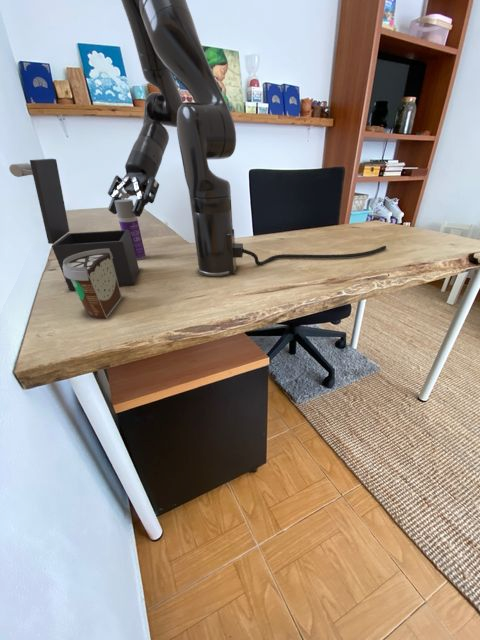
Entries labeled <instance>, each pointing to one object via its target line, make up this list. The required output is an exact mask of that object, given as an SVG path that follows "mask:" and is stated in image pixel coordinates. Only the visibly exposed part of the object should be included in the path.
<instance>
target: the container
mask: <svg viewBox="0 0 480 640" xmlns="http://www.w3.org/2000/svg"><path fill="white" fill-rule="evenodd" d="M133 201H134V200H133V199H131V198H127V199H126V198H125V199H122V200H115V201H114V202H115V206H116V210H117V214H116V215H117V218H118V223H119V226H120V230H129V231H130V235H131V239H132V243H133V247H134V251H135V255H136V259H137V261H140V260H145V259H146V258H147V255H146V251H145V246H144V243H143V239H142V234H141V230H140V229H141V228H140V225H139V221H138V217H137V216H136V215H134V214H133V213H132V210H133V207H134V205H135V204H134V202H133Z"/></svg>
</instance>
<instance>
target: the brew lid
mask: <svg viewBox="0 0 480 640" xmlns="http://www.w3.org/2000/svg"><path fill="white" fill-rule="evenodd" d="M29 162H30V163H28V162H24V163H15V164H13V163H12V164H10V165H9V168H8V169H9V172H10V173H11V175H12V176H14V177H16V178H20V177H27V176H32V177H33V181H34V185H35V186H34V187H35V190H36V194H37V200H38V203H39V209H40V213H41V216H42V223H43V225H44V230H45V231H44V232H45V235H46V240H47V243H48V244H49V245H54V244H55V243H56V242H58V241H59V240H60V239H62V238H63V237H64V236H66V235H67V234H68V233H70V227H69V221H68V217H67V211H66V205H65V200H64V194H63V189H62V184H61V178H60V173H59V167H58V162H57V159H56V158H41V159H29Z"/></svg>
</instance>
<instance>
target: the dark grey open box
mask: <svg viewBox="0 0 480 640" xmlns="http://www.w3.org/2000/svg"><path fill="white" fill-rule="evenodd" d="M51 248H52V251H53V253H54V255H55V259H56V260H57V263H58V266H59V268H60V271H61V273H62V276H63V277H64V280H65V283H66V285H67V288H68V291H69V292H77V291H76V289H75V287H74V285H73V283H72V281H71V279H68V278H66V277H65V276H64V273H63V261H64V259H66V258H67V257H69V256H72V255H74V254H77V253H81V252H85V251H90V250H97V249H110V252H111V254H112V256H113V259H112V261H113V264H114V268H115V272H116V276H117V280H118V284H119V287H130V286H135V283H136V280H137V277H138V273H139V270H140V267H139V263H138V260H137V259H136V255H135V251H134V247H133V243H132V239H131V235H130V231H129V230H121V229H119V230H117V229H116V230H104V231H103V230H101V231H99V230H98V231H84V232H83V231H82V232H68V233H67V234H65V235H64V236H63V237H61V238H60V239H59V240H57V241H56V242H55V243H53V244H52V245H51Z"/></svg>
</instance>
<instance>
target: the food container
mask: <svg viewBox="0 0 480 640" xmlns="http://www.w3.org/2000/svg"><path fill="white" fill-rule="evenodd" d="M112 259H113V256H112V254H111V252H110V249H97V250H90V251H85V252H81V253H77V254H74V255H72V256H69V257H67V258H66V259H64V261H63V273H64V275H63V277H64V276H65V277H66V278H68V279H71V281H72V283H73V285H74V287H75V289H76V291H75V292H76V293H77V296H78V297H79V300H80V301H81V304H82V306H83V308H84V310H85V312H86V314H87V315H88V316H89V317H90V318H94V319H97V320H107V319H108V318H109V316H110V314H111V313H112V312H113V311H114V310H115V308H116V306H117V305H119V303H120V301H121V300H122V298H123V296H122V293H121V288H120V286H119V284H118V280H117V276H116V272H115V268H114V264H113V261H112ZM63 273H62V274H63Z"/></svg>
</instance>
